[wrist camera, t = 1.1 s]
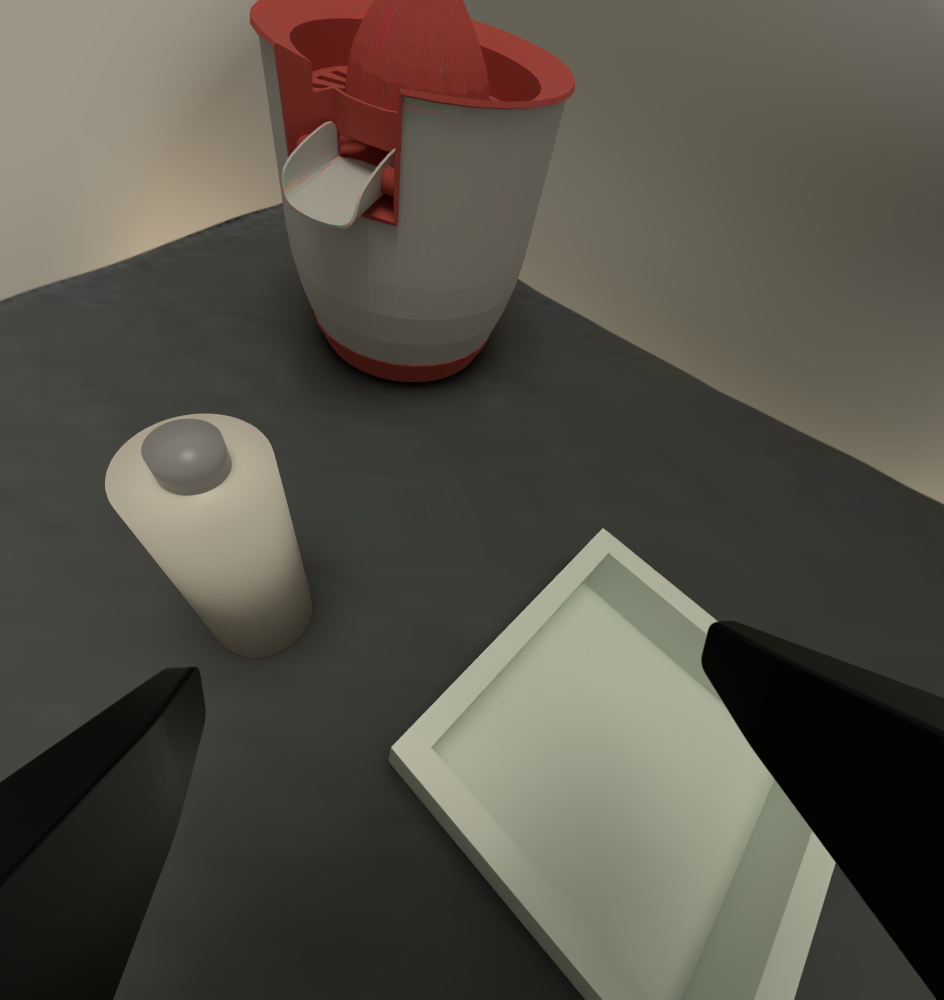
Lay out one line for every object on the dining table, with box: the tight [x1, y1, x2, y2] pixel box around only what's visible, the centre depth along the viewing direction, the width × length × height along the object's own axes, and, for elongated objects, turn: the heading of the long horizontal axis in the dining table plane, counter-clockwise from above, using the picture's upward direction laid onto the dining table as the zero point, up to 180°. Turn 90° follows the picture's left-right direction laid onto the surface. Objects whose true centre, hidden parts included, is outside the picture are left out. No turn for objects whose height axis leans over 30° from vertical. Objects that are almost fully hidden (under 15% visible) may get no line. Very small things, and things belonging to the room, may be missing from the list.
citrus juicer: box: [250, 0, 575, 382], centre depth 28 cm, size 16×17×20 cm
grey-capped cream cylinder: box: [105, 414, 313, 658], centre depth 18 cm, size 4×4×12 cm
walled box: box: [388, 528, 835, 1000], centre depth 20 cm, size 14×14×4 cm
